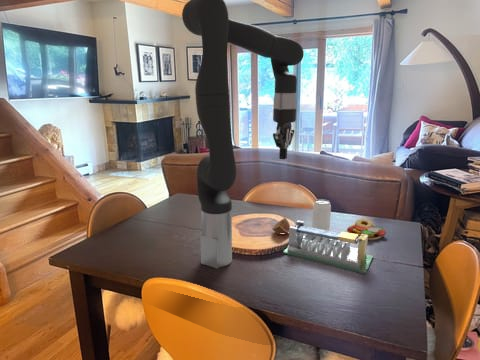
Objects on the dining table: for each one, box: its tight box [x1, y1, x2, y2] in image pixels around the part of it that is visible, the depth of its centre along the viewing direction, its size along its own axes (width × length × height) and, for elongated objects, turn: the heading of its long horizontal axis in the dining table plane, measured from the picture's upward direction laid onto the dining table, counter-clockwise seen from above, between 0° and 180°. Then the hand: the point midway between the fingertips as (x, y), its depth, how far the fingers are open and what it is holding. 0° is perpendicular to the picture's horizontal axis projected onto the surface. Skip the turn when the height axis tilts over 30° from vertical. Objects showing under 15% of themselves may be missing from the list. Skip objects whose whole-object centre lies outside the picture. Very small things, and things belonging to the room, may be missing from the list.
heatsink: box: [282, 220, 374, 275], centre depth 114 cm, size 26×12×9 cm, turn 60°
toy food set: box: [346, 218, 387, 241], centre depth 131 cm, size 13×13×3 cm
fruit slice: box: [271, 217, 291, 234], centre depth 131 cm, size 8×7×5 cm
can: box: [311, 198, 332, 231], centre depth 131 cm, size 6×6×12 cm
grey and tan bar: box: [293, 224, 359, 245], centre depth 114 cm, size 21×4×2 cm, turn 60°
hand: (283, 158), depth 121 cm, fingers closed
